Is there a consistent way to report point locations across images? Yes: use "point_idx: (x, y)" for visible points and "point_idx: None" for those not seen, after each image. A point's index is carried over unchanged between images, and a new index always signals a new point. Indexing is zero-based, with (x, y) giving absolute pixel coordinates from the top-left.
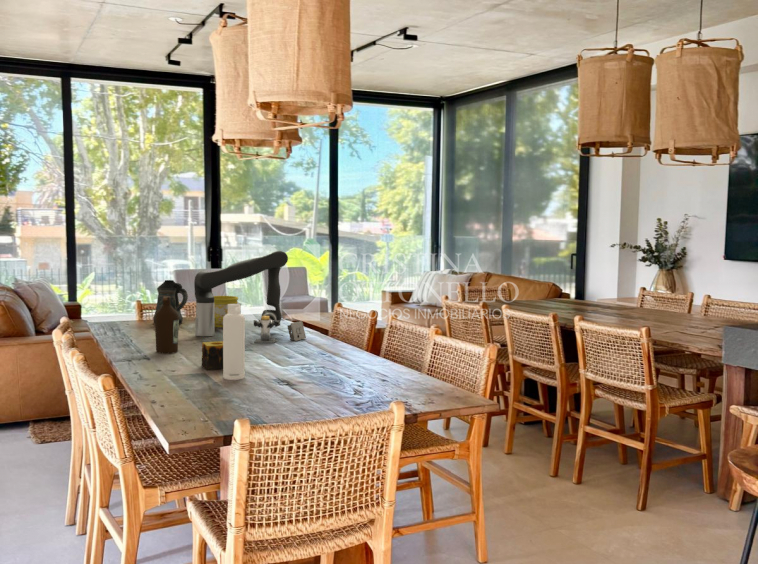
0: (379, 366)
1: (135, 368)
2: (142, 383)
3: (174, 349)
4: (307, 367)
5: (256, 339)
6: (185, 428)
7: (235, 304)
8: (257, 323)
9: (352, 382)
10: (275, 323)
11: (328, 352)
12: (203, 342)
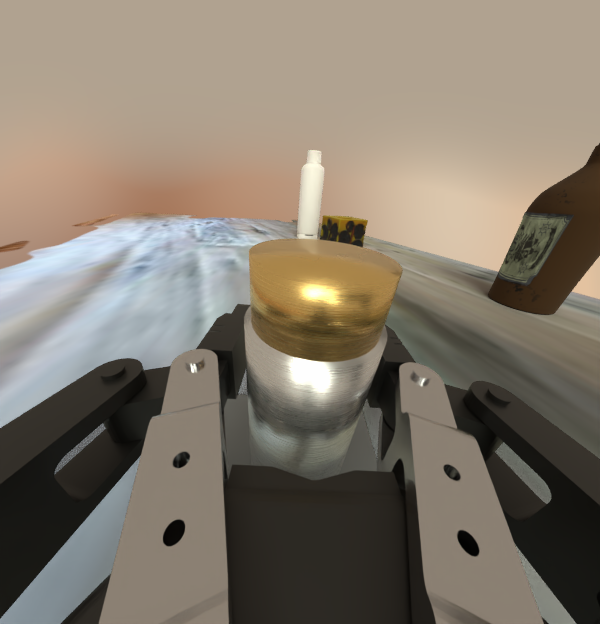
0: (117, 235)
1: (430, 256)
2: (376, 240)
3: (491, 288)
4: (222, 241)
5: None
6: None
7: (314, 151)
8: (395, 336)
9: (199, 226)
10: (149, 378)
11: (110, 274)
12: (365, 220)
